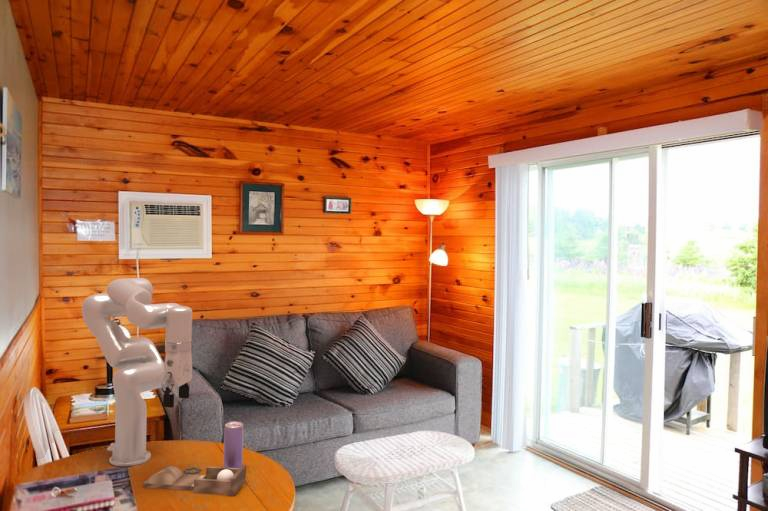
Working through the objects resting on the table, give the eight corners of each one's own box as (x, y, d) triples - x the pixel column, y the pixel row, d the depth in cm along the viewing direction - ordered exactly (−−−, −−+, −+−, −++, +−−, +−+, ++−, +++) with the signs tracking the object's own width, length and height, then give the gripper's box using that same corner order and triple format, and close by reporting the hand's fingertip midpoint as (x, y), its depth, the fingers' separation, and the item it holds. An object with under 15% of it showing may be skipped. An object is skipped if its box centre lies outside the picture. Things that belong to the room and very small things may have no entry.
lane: (140, 503, 168) (141, 472, 168) (157, 488, 178) (157, 459, 178) (234, 509, 166) (234, 478, 165) (245, 494, 176) (246, 465, 175)
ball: (210, 477, 169) (223, 467, 169) (219, 474, 174) (232, 464, 174) (218, 492, 168) (231, 482, 167) (227, 488, 173) (240, 479, 172)
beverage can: (237, 475, 180) (238, 428, 180) (219, 473, 181) (220, 426, 181) (245, 468, 186) (246, 422, 185) (228, 466, 187) (229, 420, 187)
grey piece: (188, 476, 178) (188, 474, 178) (182, 471, 182) (182, 469, 182) (202, 472, 181) (202, 470, 181) (196, 467, 185) (196, 466, 185)
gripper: (176, 353, 165) (174, 411, 166) (202, 342, 183) (200, 395, 183) (151, 351, 166) (149, 409, 167) (180, 341, 184) (178, 393, 184)
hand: (176, 402), depth 175 cm, fingers open, 9 cm apart
